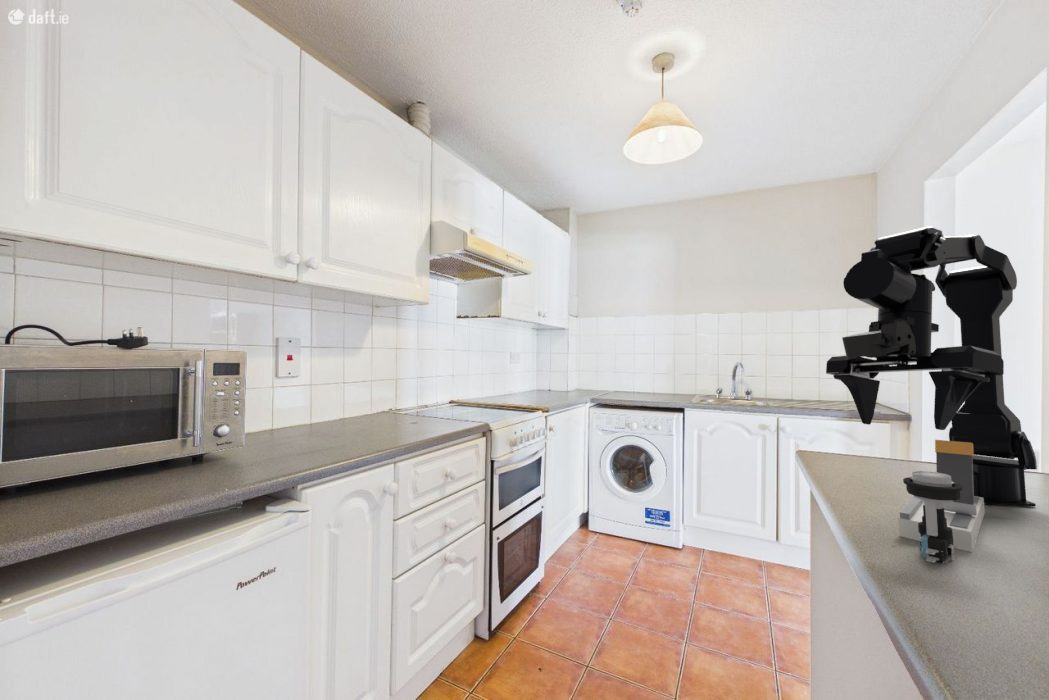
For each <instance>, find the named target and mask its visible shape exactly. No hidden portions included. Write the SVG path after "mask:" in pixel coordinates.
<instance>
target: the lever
mask: <svg viewBox="0 0 1049 700" xmlns="http://www.w3.org/2000/svg"><path fill="white" fill-rule="evenodd" d="M934 446H935V447H934V450H935V451H934V452H935V454H936V455H935V456H936V460H935V461H936V462H935V463H936V472H937V473H943V474H947V475H950V476H951V481H953V482H955V483H958V484H960V485H962V488H963V490H961V491H960V499H959V500H953V502H951V503H942V504H943V508H944V510H945V511H950V512H956V513H962V514H968V515H974V516H976V515H977V508H976V504H974V485H973V457H974V453H973V444H972V443H969V442H957V441H950V440H942V439H941V440H940V439H935V440H934Z"/></svg>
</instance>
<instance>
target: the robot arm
mask: <svg viewBox="0 0 1049 700" xmlns="http://www.w3.org/2000/svg"><path fill="white" fill-rule="evenodd" d="M860 255H861V259H860V260H859V262H856V263H855V264H854V265H853V266H851V268H849V270H848V271H847V273H846V275H845V277H844V278H843V282H842V283H843V287H844V291H845V292H846V293H847V295H848V296H850V297H852V298H853V299H856V300H858V301H860V302H862V303H865V304H866V305H870V306H872V307H874V308H877V309H878V311H877V313H878V314H877V320H876V321H870V324H869V325H868V331H866V332H861V333H856V334H852V335H846V336H843V337H842V338H841V340H842V343H843V348H844V351H845V352H844V353H845V355H839V356H838V355H837V356H830V358H829V359H828V360H827V361H826V365H825V366H826V367H825V374H826V375H832V376H833V378H834V380H838V381H841V383H843V385H845V387H847V389H848V391H849V392H850V395H851V397H852V399H853V401H854V404H855V407H856V410H857V412H858V415H859V417H860V421H861V423H862V424H864V425H868V426H869V425H871V423H872V420H873V418H874V414H875V409H876V403H877V400H878V394H879V389H880V383H881V381H880V380H878V379H875V378H876V377H877V376H878V375H879V374H880V373H892V372H893V373H895V372H897V373H898V372H917V371H918V372H920V371H921V372H922V371H928V374H929V376H930V378H931V381H932V382H933V384H934V408H933V409H934V411H933V419H934V420H933V421H934V428H935V429H936V430H939V431H945V430H946V429H947V427H948V426H949V425H950V424H951V426H950V428H949V432H948V439H949V440H948V441H957V442H969V443H972V444H973V453H974V457H973V485H974V496H977V497H983V498H984V505H988V506H989V505H990V506H1013V507H1036V503H1035V502H1033V501H1029V500H1027V489H1026V482H1025V481H1026V477H1025V471H1026V470H1038V466H1037V463H1038V462H1037V458H1036V453H1035V451H1034V449H1033V446H1032V443H1031V441H1030V440H1029V439H1028V437H1027V435H1026V433H1025V431H1022V424H1021V420H1020V419H1019V417H1017V415H1015V413H1014V412H1013V411H1012V410H1011V409H1010V408H1009V407H1008V406H1007V404H1006V402H1005V390H1004V389H1005V386H1004V376H1003V375H1004V368H1005V366H1004V365H1005V364H1004V359H1003V355H1002V340H1001V323H1000V321H1001V320H1000V319H1001V318H1000V317H1001V316H1002V315H1003V313H1004V312H1005V311H1006V310H1007V309H1008V307H1009V306H1011V304H1012V302H1013V300H1014V298H1013V297H1014V296H1013V295H1014V294H1013V293H1014V290H1016V288H1017V285H1018V278H1017V273H1016V271H1015V269H1014V267H1013V265H1012V263H1011V261H1010V259H1009V257H1008V255H1007V254H1005V253H1003V252H1001V251H998V250H996V249H994V248H992V247H990V246H988V245H986V243H985V242H984V240H983V238H982V237H981V235H979V234H975V235H974V234H968V235H964V236H963V235H954V236H953V235H952V236H951V235H946V236H945V235H944V234H943V231H942V230H940V229H939V228H935V227H933V226H929V225H928V226H925V227H921V228H916V229H911V230H909V231H908V230H907V231H905V232H899V233H895V234H891V235H888V236H887V235H886V236H883V237H879V238H877V239H875V241H874V246H873V247H871V248H870V249H869V251H866V252H862V253H861V254H860ZM972 260H975V261H976V262H977V263H978V264H980V265H982V266H976V267H975V266H974V267H970V268H962V269H958V270H951V271H950V272H949V274H948V273H947V271H946V265H948V264H955V263H960V262H966V261H972ZM938 266H939V267H938ZM936 267H938V270H937V272H936V276H935V280H934V281H935V284H936V285H935V284H934V282H932V280H930V279H929V278H928V277H927V276H926V274H918V273H912V272H913V271H919V270H923V269H926V270H927V269H931V268H936ZM936 286H937V287H938V289H939V290H940V293H941V294H942V296H943V297H944V298H945V303H946V307H948V308H949V309H950V310H951V311H952V312H953V313H954V314H955V316H957V317H958V319H959V321H960V324H959V325H960V338H961V345H960V346H950V347H949V346H948V347H947V346H946V347H936V349H935V350H934V351H933V352H932V333H938V332H939V329H940V328H939V327H940V325H939V324H938V323H933V322H932V321H933V317H932V316H933V315H932V314H933V292H935V290H936ZM872 358H874V359H872ZM909 363H911V364H909ZM914 363H915V364H914Z"/></svg>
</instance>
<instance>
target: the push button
mask: <svg viewBox="0 0 1049 700" xmlns="http://www.w3.org/2000/svg"><path fill="white" fill-rule="evenodd" d="M911 473H912V474H911V475H912V476H909V477H904V478H903V479H902V481H903V484H904V485H905V487H906V492H907V493H908V494H909V495H912V496H914V497H915V498H918V499H920V500H923V501H924V505H923V516H922V522H919V523H918V531H919V533H920V535H921V539H920V540H918V550H919V551H918V552H919V553H921V552H922V558H923V559H924V560H925V561H926V562H930V563H933V564H935V563H939V564H944V563H945V561H946V560H947V558H949V557H948V556H951V560H952V561H954V559H955V548H954V545H953V533H952V528H951V527H947V519H946V518H945V513H944V508H943V504H942V503H951V502H953V500H959V499H960V491H961V490H963V488H962V485H960V484H958V483H955V482H953V481H951V476H950V475H947V474H943V473H937V471H928V470H927V471H925V470H915V471H912V472H911Z"/></svg>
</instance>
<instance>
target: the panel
mask: <svg viewBox="0 0 1049 700" xmlns="http://www.w3.org/2000/svg"><path fill="white" fill-rule="evenodd" d="M974 504H976V508H977V515H976V516H974V515H968V514H962V513H956V512H950V511H945V510H944V513H945V518H946V519H947V527H951V528H952V533H953V545H954V549H957V550H961V551H966V552H969V553H973V551H974V550H975V549H974V548H975V547H976V541H977V540H978V537H979V532H980V530H981V527H982V524H983V521H984V517H985V515H986V512H985V511H986V510H985V503H984V498H983V497H977V496H974ZM923 505H924V501H923V500H920V499H918V498H915V497H914V495H912V497H911V498H910V500H909V501H907V503H906V504H905V505H904V507H902V508H901V510H900V511H899V516H898V517H897V520H898V523H897V524H898V537H901V538H906V539H910V540H915V541H919V540H920V539H921V535H920V533H919V531H918V523H919V522H922V516H923Z"/></svg>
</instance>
